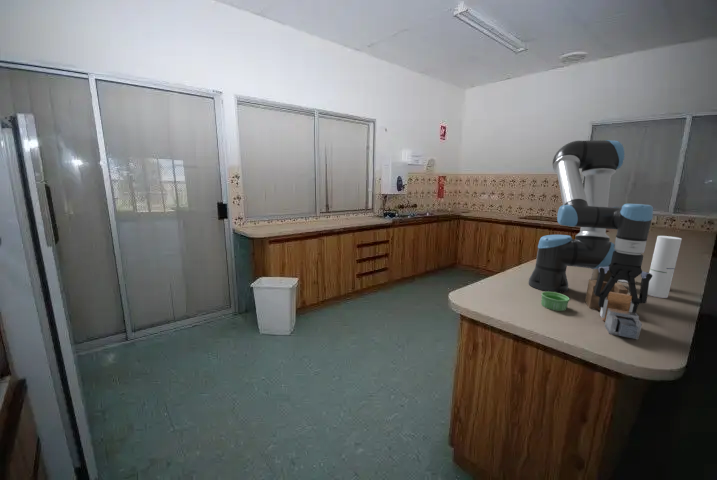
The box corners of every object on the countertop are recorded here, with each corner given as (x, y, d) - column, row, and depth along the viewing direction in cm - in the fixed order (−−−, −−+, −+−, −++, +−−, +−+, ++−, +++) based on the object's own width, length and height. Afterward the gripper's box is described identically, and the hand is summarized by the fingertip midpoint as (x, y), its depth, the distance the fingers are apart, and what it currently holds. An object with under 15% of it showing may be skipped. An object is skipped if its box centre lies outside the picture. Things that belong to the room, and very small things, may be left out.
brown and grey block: (614, 337, 93) (620, 307, 91) (598, 313, 111) (603, 286, 109) (639, 343, 91) (647, 311, 88) (619, 316, 108) (625, 289, 106)
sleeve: (609, 333, 96) (613, 315, 95) (604, 325, 101) (608, 308, 100) (638, 339, 93) (642, 320, 92) (631, 331, 98) (635, 312, 97)
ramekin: (538, 300, 122) (539, 289, 121) (564, 304, 118) (566, 293, 117) (541, 309, 114) (543, 297, 113) (570, 313, 110) (572, 302, 109)
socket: (589, 308, 115) (593, 285, 114) (585, 300, 122) (589, 279, 121) (623, 314, 111) (628, 290, 109) (616, 306, 118) (621, 283, 116)
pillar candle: (613, 288, 137) (620, 256, 134) (587, 282, 145) (593, 251, 142) (618, 284, 143) (625, 253, 140) (593, 279, 151) (599, 249, 148)
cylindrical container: (672, 298, 127) (686, 239, 122) (652, 296, 129) (665, 238, 124) (659, 292, 134) (672, 236, 129) (640, 290, 136) (653, 235, 130)
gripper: (594, 250, 100) (582, 316, 105) (672, 258, 92) (655, 330, 96) (589, 246, 107) (578, 308, 111) (662, 253, 98) (646, 320, 103)
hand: (614, 318), depth 104 cm, fingers closed on brown and grey block, 6 cm apart
